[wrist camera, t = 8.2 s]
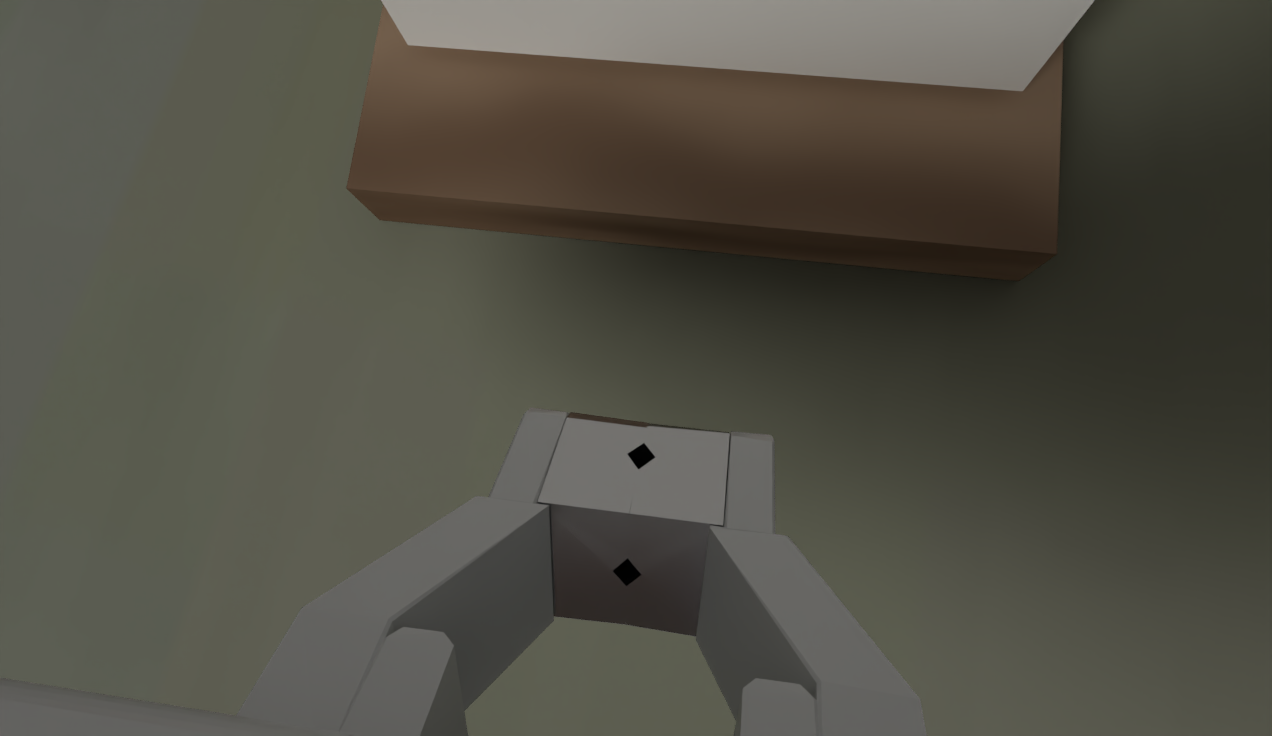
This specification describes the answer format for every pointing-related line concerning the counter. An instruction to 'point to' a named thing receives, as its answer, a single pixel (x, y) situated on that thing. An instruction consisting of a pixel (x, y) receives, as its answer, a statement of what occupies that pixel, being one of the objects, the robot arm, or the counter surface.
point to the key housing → (714, 158)
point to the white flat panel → (766, 34)
